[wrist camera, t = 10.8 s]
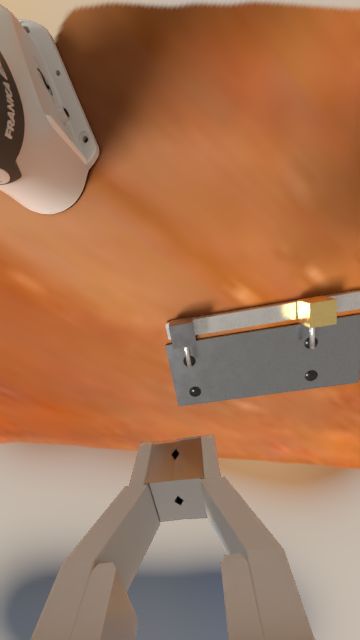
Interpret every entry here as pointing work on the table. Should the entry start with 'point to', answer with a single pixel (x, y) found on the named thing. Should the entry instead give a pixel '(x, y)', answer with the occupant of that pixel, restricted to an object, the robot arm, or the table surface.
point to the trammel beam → (244, 319)
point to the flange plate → (267, 362)
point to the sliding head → (317, 314)
